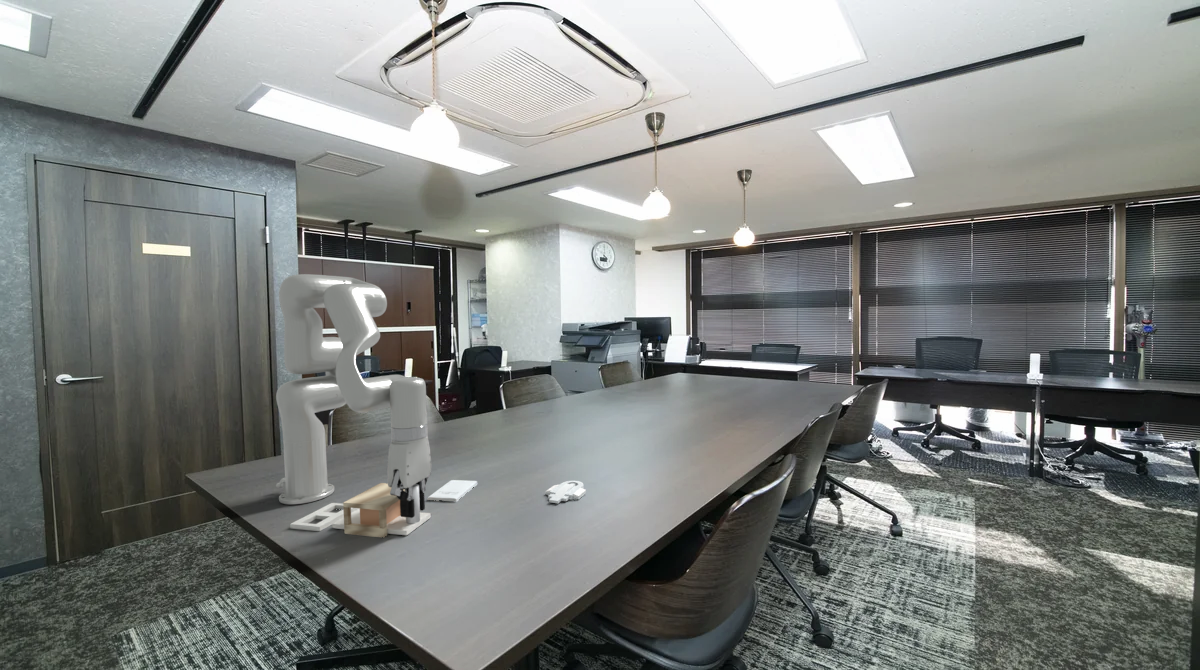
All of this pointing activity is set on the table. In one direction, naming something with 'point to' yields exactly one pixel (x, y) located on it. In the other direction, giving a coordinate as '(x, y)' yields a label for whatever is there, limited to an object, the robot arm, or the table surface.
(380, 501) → the tunnel
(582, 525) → the table surface
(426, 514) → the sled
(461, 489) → the external hard drive
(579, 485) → the toy rocket
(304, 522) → the frame
